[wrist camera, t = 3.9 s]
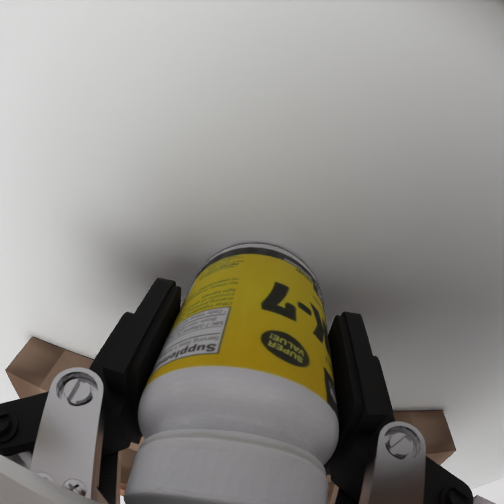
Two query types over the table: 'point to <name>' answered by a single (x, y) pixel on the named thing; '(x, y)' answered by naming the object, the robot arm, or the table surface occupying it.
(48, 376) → the socket block
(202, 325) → the supplement bottle
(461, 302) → the table surface
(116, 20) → the table surface
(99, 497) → the robot arm
